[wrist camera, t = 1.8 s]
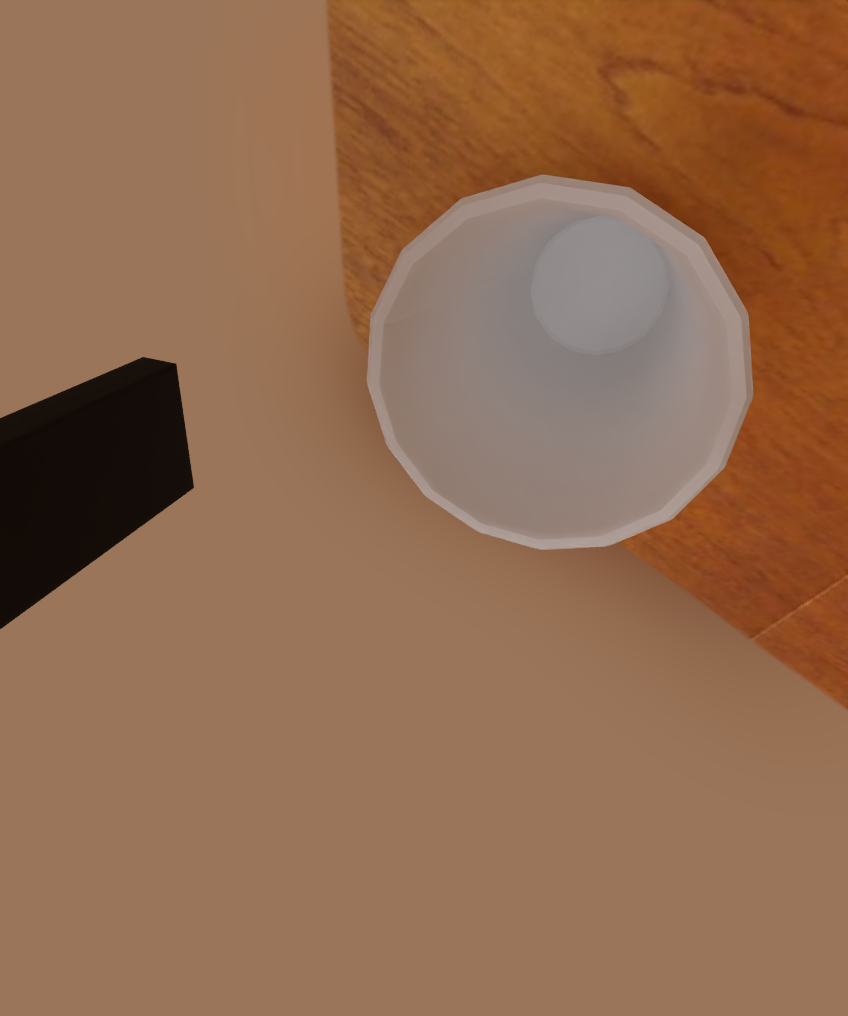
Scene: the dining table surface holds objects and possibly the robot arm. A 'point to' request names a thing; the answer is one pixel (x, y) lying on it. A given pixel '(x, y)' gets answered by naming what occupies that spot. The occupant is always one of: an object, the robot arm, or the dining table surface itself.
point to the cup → (560, 363)
